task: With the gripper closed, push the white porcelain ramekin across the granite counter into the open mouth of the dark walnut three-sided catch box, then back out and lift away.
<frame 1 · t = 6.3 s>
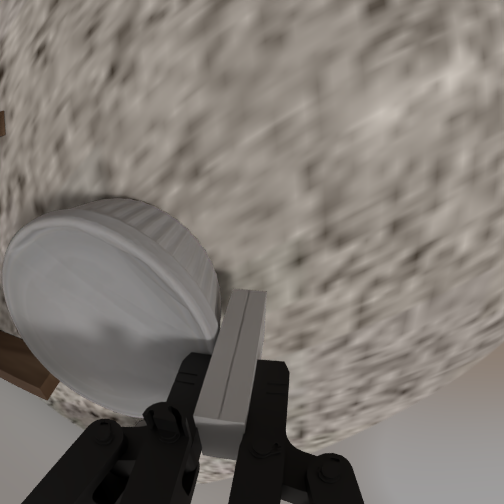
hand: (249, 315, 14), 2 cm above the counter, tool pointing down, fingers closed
ramekin: (139, 276, 17), on the counter, touching gripper
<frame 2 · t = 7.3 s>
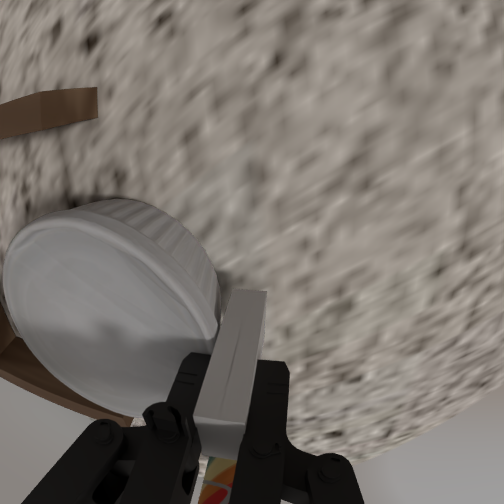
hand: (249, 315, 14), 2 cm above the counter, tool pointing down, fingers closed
lotion bottle: (244, 447, 24), on the counter
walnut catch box: (27, 261, 17), on the counter
ramekin: (139, 276, 17), on the counter, touching gripper
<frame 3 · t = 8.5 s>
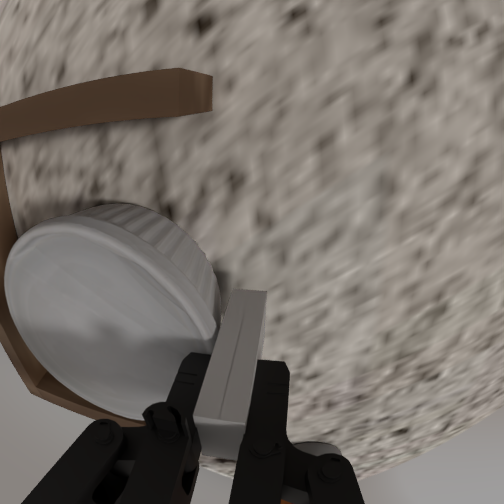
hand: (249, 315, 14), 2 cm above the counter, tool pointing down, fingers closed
lotion bottle: (310, 453, 23), on the counter
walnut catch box: (90, 272, 17), on the counter
ramekin: (140, 280, 17), on the counter, touching gripper
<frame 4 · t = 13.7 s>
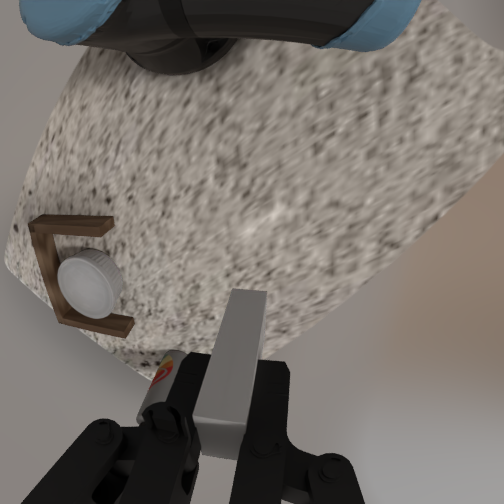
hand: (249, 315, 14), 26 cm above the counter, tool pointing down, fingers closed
lotion bottle: (179, 359, 55), on the counter
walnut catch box: (86, 270, 48), on the counter
ramekin: (100, 272, 48), on the counter
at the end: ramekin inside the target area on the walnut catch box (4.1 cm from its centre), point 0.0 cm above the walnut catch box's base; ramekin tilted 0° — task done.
